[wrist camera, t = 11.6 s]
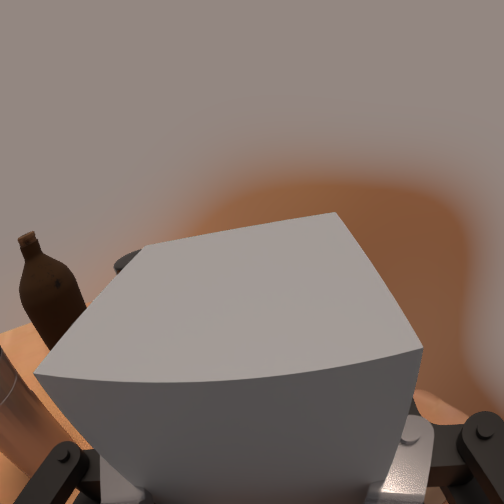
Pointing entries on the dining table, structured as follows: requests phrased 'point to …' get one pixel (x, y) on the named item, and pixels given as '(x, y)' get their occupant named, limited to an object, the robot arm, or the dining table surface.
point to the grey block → (243, 368)
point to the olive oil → (48, 292)
